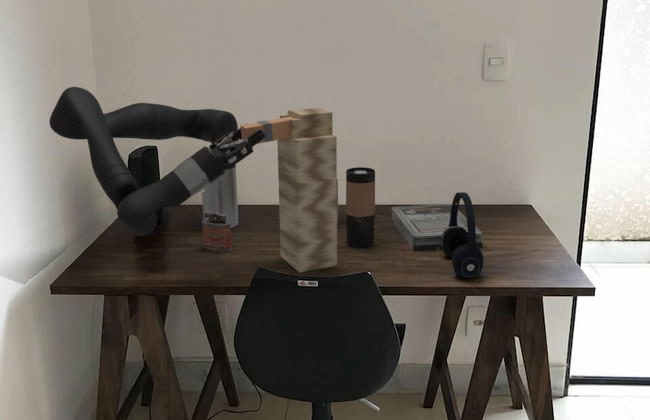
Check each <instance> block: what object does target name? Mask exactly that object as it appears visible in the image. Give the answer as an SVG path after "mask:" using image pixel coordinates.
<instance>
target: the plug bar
mask: <svg viewBox="0 0 650 420" xmlns="http://www.w3.org/2000/svg"><path fill="white" fill-rule="evenodd" d="M291 119H298V118H295V117H293V116H290V117H284V118H280V117H279V118H273V119H268V120H259V121H256V122H253V123H245V124H246V125H245V124H240V128H241V135H242V139H241V141H242V140H245V139H247V138H248V137H249V136H251V135H252V134H253V133H255V132H256V131H257V130H259V129H260V130H262V131H263V133H264V134H265V138H264V139H263V140H261V141H260V142H259V143H257V144H256V145H258V144H259V145H260V144H264V143H269V142H274V141H275V142H276V141H277V140H280V139H285V138H290V137H291Z"/></svg>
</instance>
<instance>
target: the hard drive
mask: <svg viewBox="0 0 650 420" xmlns="http://www.w3.org/2000/svg"><path fill="white" fill-rule="evenodd" d="M451 207H452V203H451V204H450V203H447V204H446V203H444V204H424V205H401V206H400V205H399V206H392V207H391V222H392V223H393V226H395V228H396V230H397V231H398V232H399V233H400V235H401V236H402V237H403V239H404V241H405V242H406V241H407V242H406V243H407V244H408V246H409V247H410V249H411V250H412V251H413V252H421V251H422V252H425V250H428V251H443V250H442V247H441V237H442V233H443V231H444V230H445V229H446V228H447V227H449V223H450V214H451ZM457 226H460V227H463V228H464V229H465V230H466V231H467V232H468V228H467V217H466V215H464V214H463V213H462V212H461V211H460V210H459V209H458V215H457ZM475 229H476V246H477V247H478V248H479V249H480V248H483V242H482V233H483V231H482V230H480V229H479V227H477V226H476V225H475ZM423 250H424V251H423Z"/></svg>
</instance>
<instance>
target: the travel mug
mask: <svg viewBox="0 0 650 420" xmlns="http://www.w3.org/2000/svg"><path fill="white" fill-rule="evenodd" d="M345 174H346V175H345V180H346V181H345V225H346V227H345V228H346V244H347V246H348V247H351V248H355V249H367V248H370V247H373V245H374V242H375V225H376V224H375V223H376V222H375V220H376V171H375V169H374V168H371V167H361V166H358V167H357V166H356V167H350V168H347V169H346V171H345Z"/></svg>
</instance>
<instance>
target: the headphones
mask: <svg viewBox="0 0 650 420" xmlns="http://www.w3.org/2000/svg"><path fill="white" fill-rule="evenodd" d="M461 200H462V202H463V205H464V210H465V217H466V218H467V228H468V232H467V231H466V230H465V229H464V228H463V227H460V226H457V215H458V210H459V208H460V207H459V206H460V203H461ZM451 204H452V207H451V214H450V223H449V227H447V228H446V229H445V230H444V231H443V233H442V237H441V247H442V250H441V251H442V252H443V254H444V255H445V256H446V257H448V258H451V260H452V262H451V265H452V268H453V272H454V274H455V275H456V276H457V277H458V278H460V279H465V280H466V279H467V280H469V279H474V278H476V277H479V275H481V273H482V270H483V267H484V254H483V252H482V251H481V249H480V248H478V247H477V246H476V229H475V226H476V222H475V221H476V220H475V213H474V212H475V211H474V207H473V202H472V199H471V197H470V195H469V194H468V193H467V192H464V191H463V192H461V191H460V192H459V191H458V192H456V193H455V194H454V196H453V199H452V202H451Z"/></svg>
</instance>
